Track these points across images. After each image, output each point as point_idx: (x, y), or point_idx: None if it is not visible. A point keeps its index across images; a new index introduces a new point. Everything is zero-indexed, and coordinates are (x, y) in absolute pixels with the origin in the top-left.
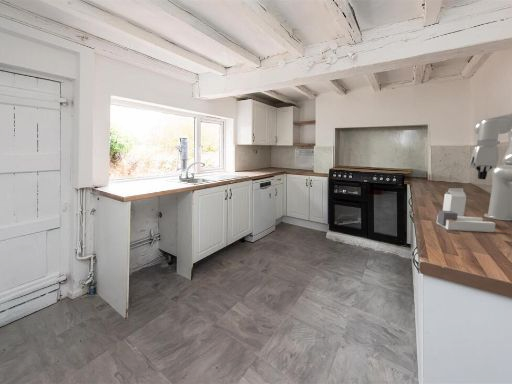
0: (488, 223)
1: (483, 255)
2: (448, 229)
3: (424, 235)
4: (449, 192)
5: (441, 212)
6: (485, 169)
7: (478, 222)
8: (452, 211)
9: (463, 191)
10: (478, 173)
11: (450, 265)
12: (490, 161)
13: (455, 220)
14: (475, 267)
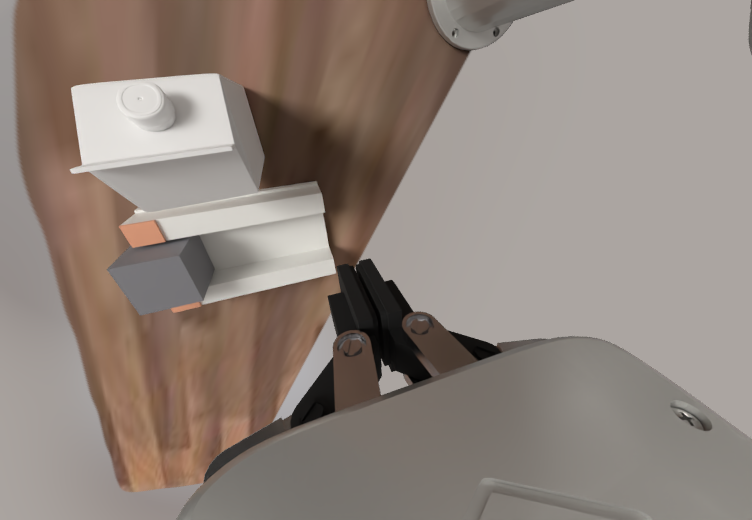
0: (314, 277)
1: (238, 423)
2: None
3: (104, 380)
4: (112, 123)
5: (127, 291)
6: (417, 370)
7: (283, 285)
8: (183, 267)
9: (238, 157)
10: (336, 328)
11: (171, 483)
12: None
13: None
14: None
